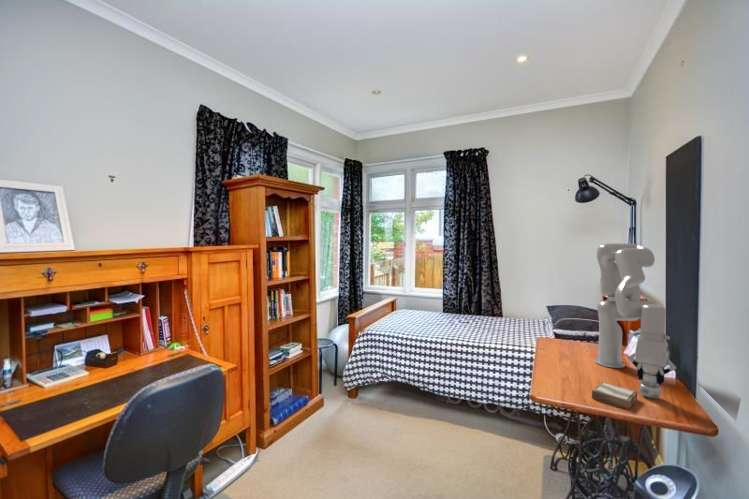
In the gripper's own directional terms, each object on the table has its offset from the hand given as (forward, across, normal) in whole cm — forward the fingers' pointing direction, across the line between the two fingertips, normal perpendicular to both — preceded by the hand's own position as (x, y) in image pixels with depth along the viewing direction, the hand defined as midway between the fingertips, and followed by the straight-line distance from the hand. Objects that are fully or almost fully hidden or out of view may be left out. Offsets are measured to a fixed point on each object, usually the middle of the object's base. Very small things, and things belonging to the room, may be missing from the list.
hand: (650, 380), depth 139 cm
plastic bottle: (+7, 0, 0) cm, 7 cm away
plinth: (+7, +9, +12) cm, 16 cm away
